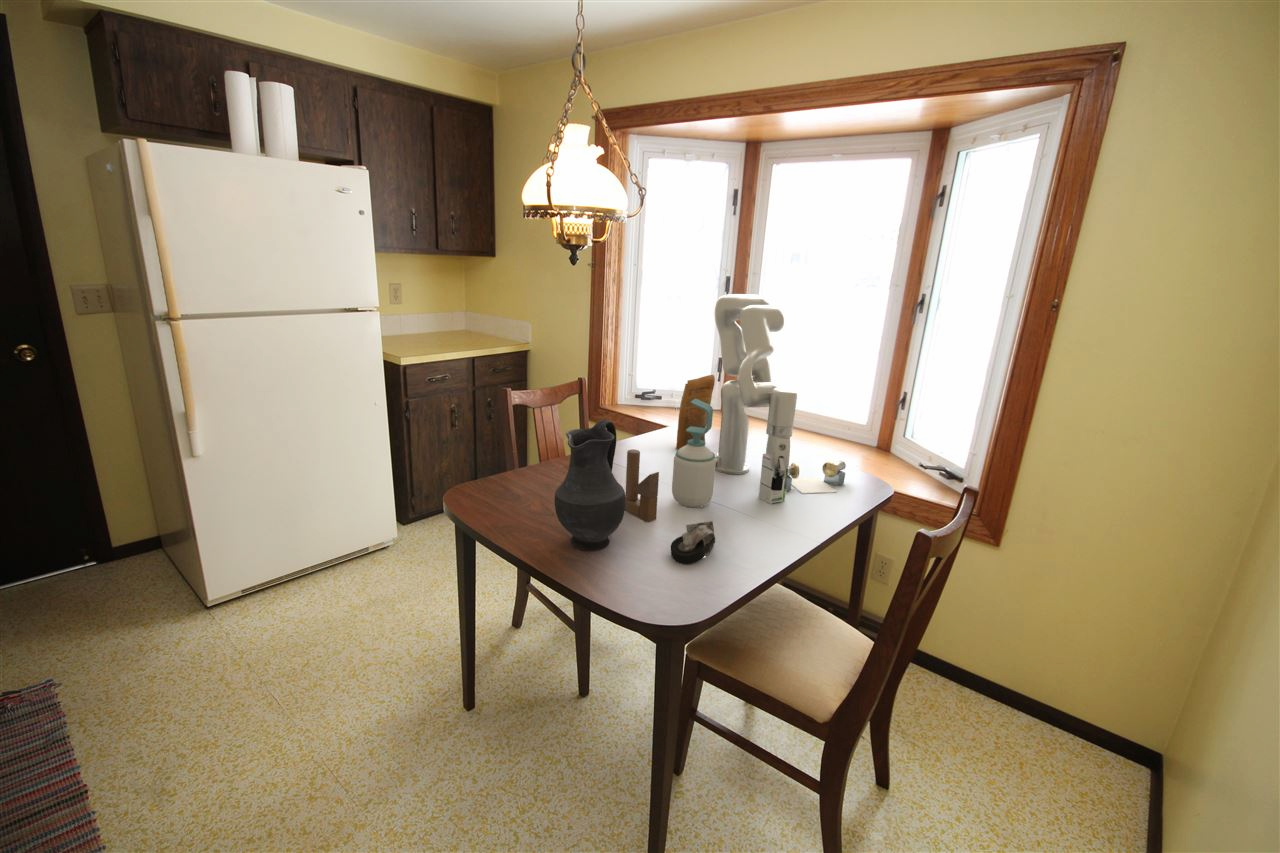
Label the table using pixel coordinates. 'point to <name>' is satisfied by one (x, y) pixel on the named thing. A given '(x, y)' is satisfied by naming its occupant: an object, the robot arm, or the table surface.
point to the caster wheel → (694, 543)
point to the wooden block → (640, 490)
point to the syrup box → (766, 481)
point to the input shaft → (792, 474)
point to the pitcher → (591, 488)
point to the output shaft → (834, 472)
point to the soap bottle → (695, 466)
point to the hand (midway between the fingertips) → (772, 484)
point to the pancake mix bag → (694, 408)
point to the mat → (811, 486)
